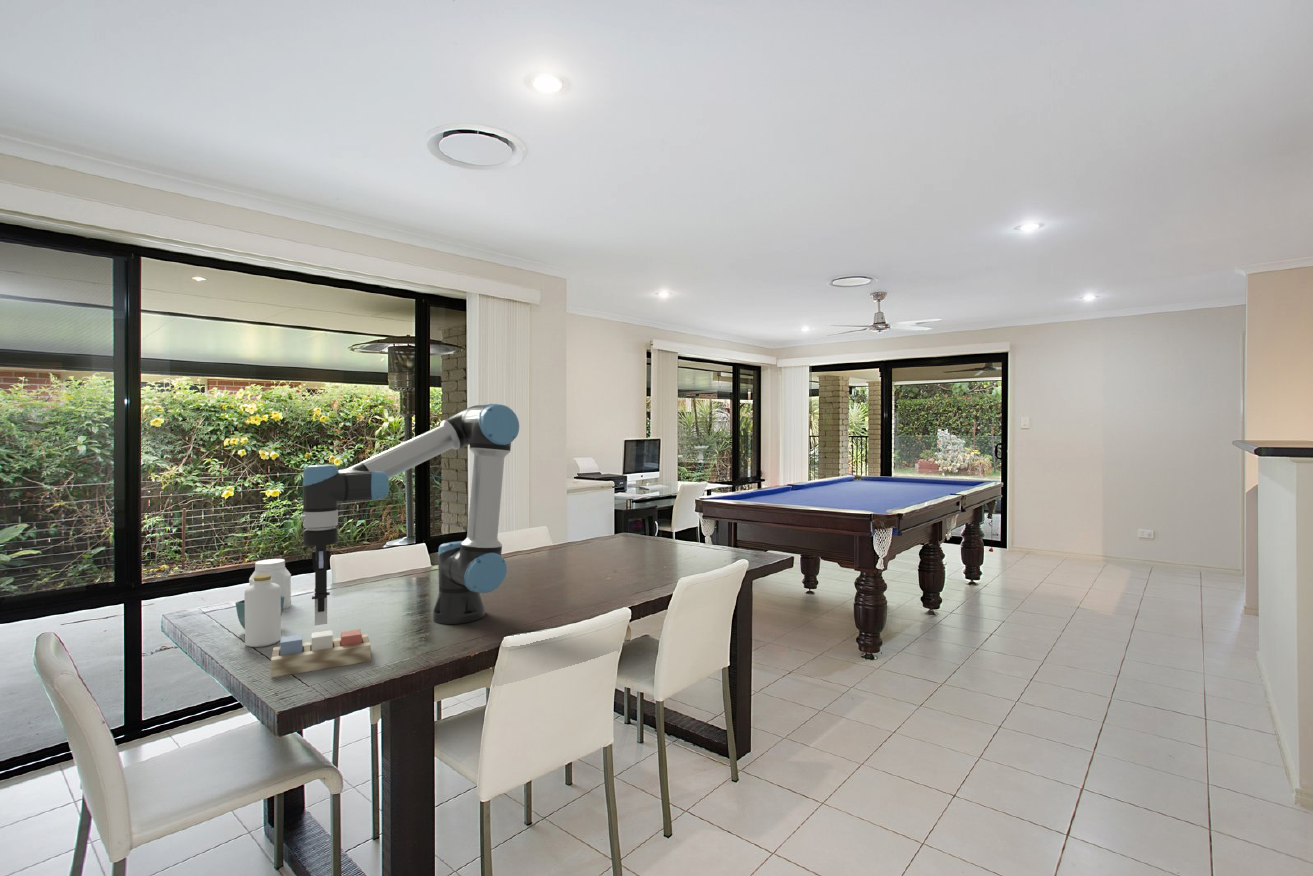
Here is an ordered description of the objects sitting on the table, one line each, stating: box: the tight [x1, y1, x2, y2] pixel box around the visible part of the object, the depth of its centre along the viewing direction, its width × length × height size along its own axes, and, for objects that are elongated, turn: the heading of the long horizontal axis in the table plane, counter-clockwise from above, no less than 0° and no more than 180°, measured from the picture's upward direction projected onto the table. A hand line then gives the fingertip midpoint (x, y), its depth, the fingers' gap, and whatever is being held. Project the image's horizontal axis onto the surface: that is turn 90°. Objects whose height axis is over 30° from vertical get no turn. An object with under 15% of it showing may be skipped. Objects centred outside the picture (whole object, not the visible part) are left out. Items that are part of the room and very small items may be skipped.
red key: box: [340, 628, 362, 646], centre depth 159 cm, size 4×4×5 cm
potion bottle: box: [243, 575, 282, 648], centre depth 170 cm, size 8×8×18 cm
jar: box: [248, 558, 292, 610], centre depth 205 cm, size 12×10×15 cm
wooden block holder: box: [270, 633, 372, 678], centre depth 156 cm, size 21×10×4 cm, turn 119°
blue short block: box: [279, 634, 304, 656], centre depth 152 cm, size 4×4×5 cm
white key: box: [311, 629, 334, 651], centre depth 156 cm, size 4×4×5 cm
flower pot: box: [235, 596, 285, 630], centre depth 181 cm, size 9×9×9 cm
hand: (321, 623), depth 155 cm, fingers closed
